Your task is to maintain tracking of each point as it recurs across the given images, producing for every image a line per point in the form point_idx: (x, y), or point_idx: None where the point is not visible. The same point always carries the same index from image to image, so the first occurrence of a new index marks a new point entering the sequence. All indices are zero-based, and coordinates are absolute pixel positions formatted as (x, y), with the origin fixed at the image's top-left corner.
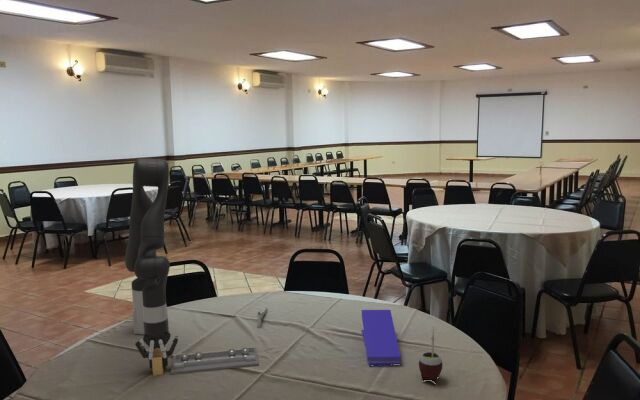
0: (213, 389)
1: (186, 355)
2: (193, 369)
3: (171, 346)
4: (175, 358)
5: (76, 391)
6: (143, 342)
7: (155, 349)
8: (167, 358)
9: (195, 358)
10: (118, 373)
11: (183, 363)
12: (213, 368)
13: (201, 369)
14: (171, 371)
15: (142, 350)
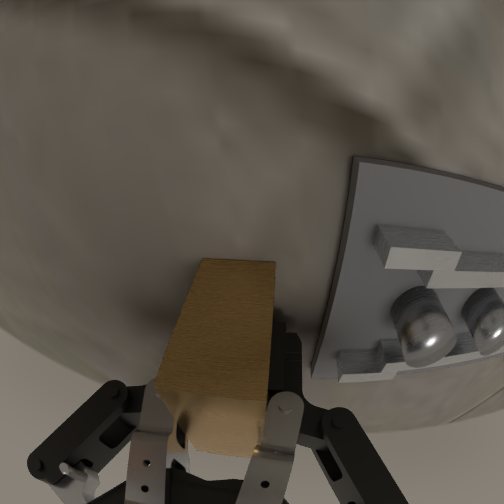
0: (412, 421)
1: (440, 355)
2: (419, 369)
3: (336, 493)
4: (370, 228)
5: (27, 339)
6: (84, 484)
7: (174, 400)
8: (300, 382)
9: (471, 334)
10: (48, 284)
11: (391, 377)
12: (480, 358)
13: (445, 366)
14: (316, 375)
15: (111, 453)
